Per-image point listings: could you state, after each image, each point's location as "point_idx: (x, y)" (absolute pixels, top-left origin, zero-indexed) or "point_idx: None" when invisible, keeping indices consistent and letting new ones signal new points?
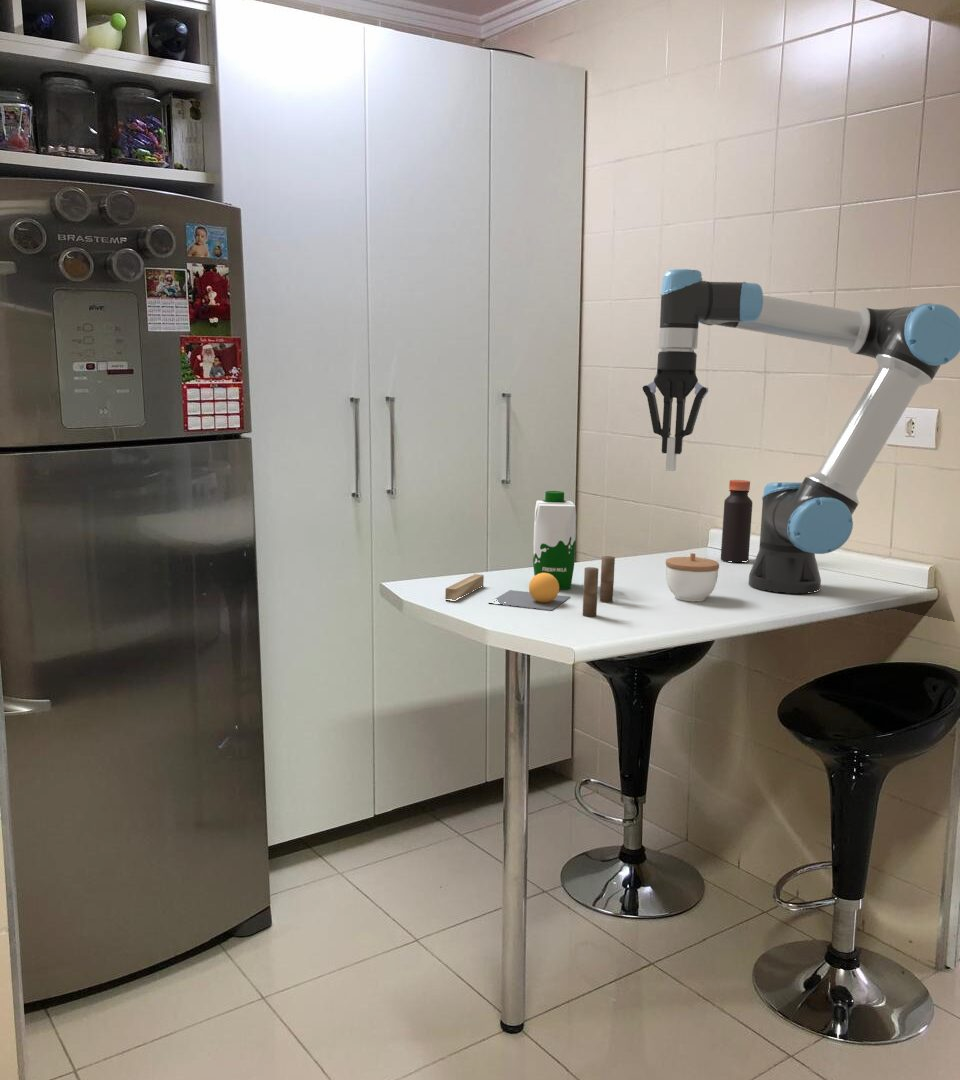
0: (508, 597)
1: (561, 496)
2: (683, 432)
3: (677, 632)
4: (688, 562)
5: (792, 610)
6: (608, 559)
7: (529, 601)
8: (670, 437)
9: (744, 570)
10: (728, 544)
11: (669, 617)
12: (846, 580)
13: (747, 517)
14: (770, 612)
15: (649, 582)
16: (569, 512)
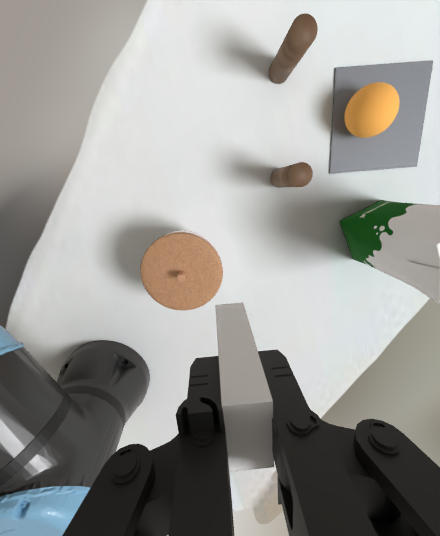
0: (410, 115)
1: None
2: (166, 473)
3: (137, 32)
4: (182, 256)
5: (55, 260)
6: (297, 163)
7: None
8: (266, 452)
9: (175, 432)
10: None
11: (176, 127)
12: None
13: None
14: (74, 234)
15: (256, 317)
16: (436, 233)
